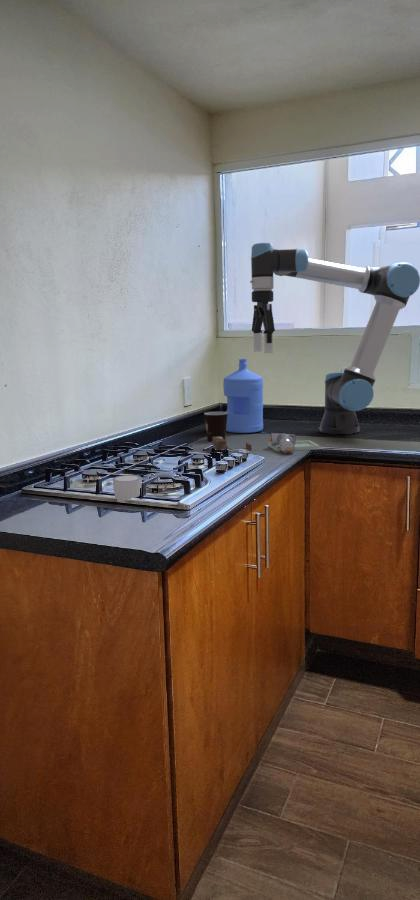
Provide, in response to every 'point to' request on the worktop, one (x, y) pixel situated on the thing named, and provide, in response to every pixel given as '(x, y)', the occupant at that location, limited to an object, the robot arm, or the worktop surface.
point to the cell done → (274, 436)
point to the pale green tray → (299, 446)
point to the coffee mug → (215, 424)
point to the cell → (285, 443)
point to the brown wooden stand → (221, 444)
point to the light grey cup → (126, 487)
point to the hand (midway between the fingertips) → (262, 352)
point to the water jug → (244, 400)
